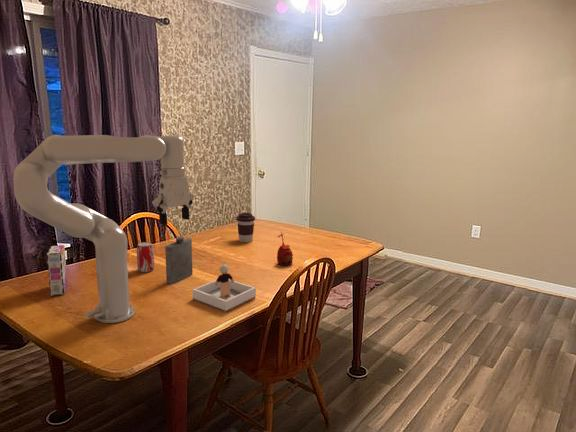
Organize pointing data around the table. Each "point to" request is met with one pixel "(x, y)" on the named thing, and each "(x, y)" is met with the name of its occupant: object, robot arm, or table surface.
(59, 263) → the candy bar box
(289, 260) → the dark red rounded piece
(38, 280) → the table surface
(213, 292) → the shadow box frame
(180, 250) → the flask
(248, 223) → the coffee cup
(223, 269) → the grandmother figurine
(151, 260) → the soda can
